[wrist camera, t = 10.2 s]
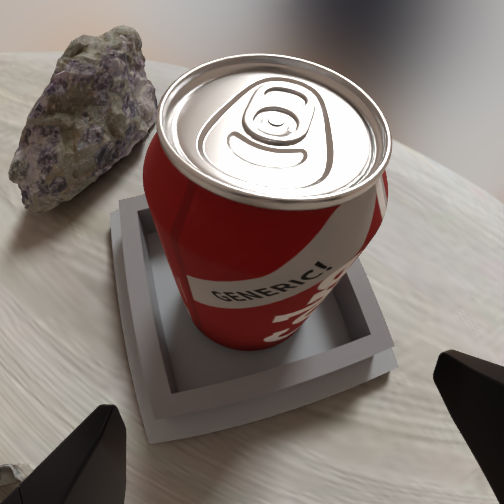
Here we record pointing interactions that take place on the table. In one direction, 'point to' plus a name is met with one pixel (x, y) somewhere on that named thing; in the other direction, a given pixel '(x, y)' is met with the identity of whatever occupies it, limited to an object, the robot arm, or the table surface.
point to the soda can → (264, 191)
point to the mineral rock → (84, 118)
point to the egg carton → (13, 473)
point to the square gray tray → (227, 360)
